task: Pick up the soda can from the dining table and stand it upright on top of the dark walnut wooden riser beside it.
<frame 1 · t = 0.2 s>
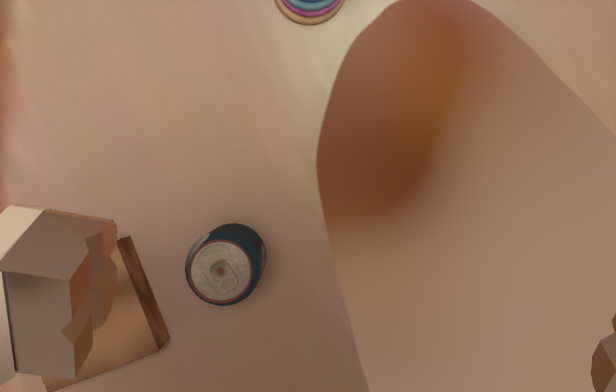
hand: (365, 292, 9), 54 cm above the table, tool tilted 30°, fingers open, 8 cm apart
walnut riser: (98, 306, 63), on the table
soda can: (235, 253, 63), on the table
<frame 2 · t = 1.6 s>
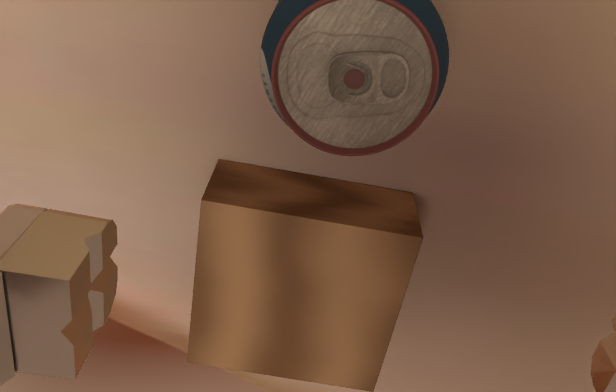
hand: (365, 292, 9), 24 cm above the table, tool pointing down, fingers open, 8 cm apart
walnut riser: (300, 255, 38), on the table
soda can: (349, 8, 30), on the table
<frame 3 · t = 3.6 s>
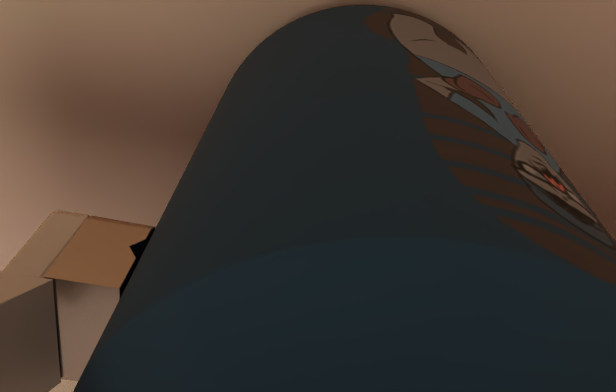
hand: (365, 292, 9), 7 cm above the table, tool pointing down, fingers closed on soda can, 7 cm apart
soda can: (356, 128, 15), on the table, touching gripper
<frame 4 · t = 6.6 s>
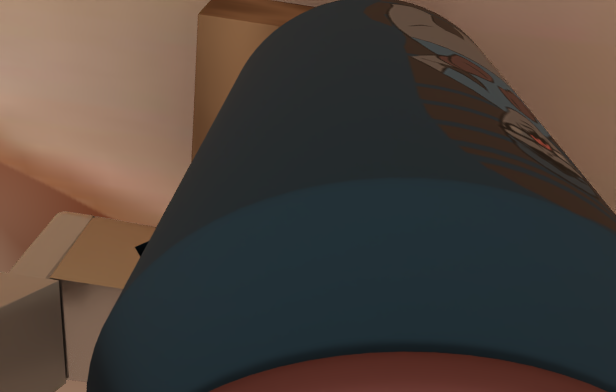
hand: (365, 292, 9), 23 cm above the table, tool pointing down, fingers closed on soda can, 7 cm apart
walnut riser: (317, 119, 32), on the table
soda can: (361, 119, 16), point 15 cm above the table, touching gripper
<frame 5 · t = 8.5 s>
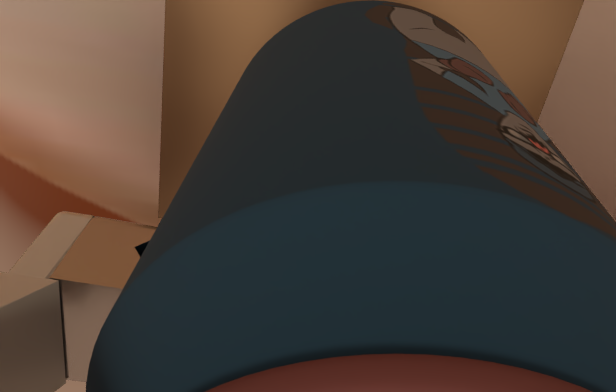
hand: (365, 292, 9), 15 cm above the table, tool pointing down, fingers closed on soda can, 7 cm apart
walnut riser: (350, 46, 22), on the table
soda can: (363, 121, 16), point 8 cm above the table, touching gripper
when the fingers open (13 cm above the table, at t = 9.9 s): soda can stays where it is, resting on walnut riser.
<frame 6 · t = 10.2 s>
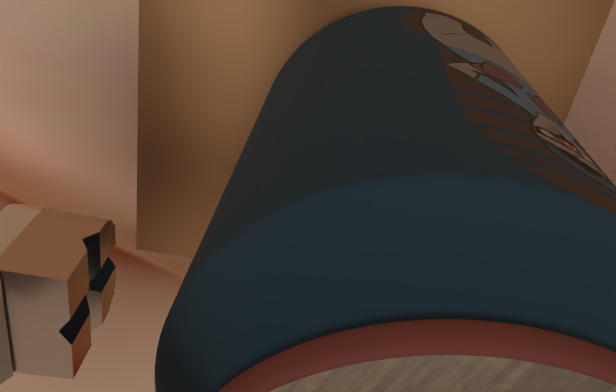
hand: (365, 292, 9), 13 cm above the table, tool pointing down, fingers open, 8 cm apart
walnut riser: (346, 59, 21), on the table
soda can: (389, 121, 16), point 5 cm above the table, touching gripper, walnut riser
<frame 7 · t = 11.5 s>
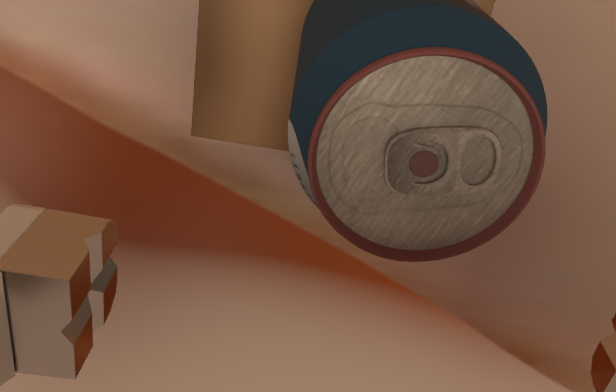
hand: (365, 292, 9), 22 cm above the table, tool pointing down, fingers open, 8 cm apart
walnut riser: (338, 4, 28), on the table
soda can: (383, 38, 24), point 5 cm above the table, touching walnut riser
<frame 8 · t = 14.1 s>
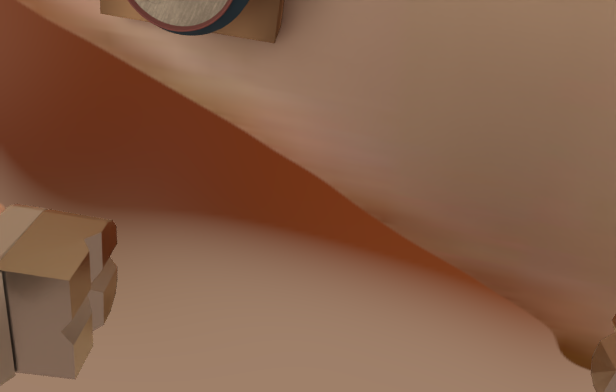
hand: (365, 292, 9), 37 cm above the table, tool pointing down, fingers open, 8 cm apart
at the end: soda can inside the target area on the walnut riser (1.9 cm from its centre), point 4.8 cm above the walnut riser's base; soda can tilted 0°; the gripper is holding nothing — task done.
